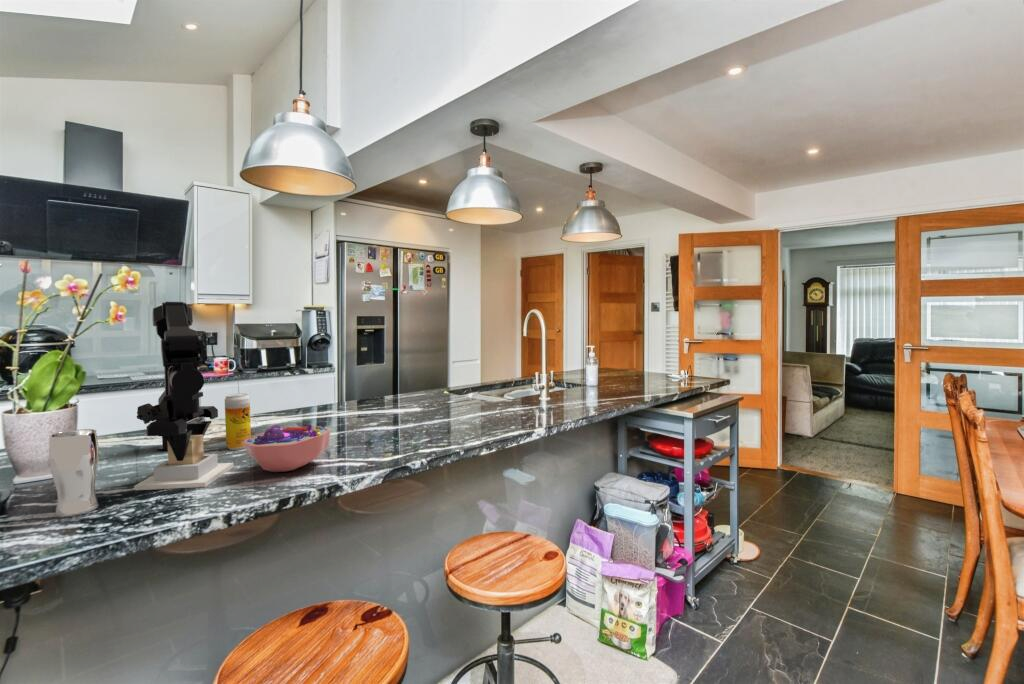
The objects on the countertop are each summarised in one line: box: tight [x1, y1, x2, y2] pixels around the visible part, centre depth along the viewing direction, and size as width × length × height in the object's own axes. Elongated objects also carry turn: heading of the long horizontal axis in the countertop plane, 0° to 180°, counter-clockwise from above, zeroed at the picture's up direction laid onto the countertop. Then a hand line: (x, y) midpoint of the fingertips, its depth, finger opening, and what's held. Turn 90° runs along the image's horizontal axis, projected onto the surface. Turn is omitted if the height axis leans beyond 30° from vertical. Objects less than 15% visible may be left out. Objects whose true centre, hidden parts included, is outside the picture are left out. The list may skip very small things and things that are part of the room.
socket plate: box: [133, 453, 235, 491], centre depth 109 cm, size 14×14×4 cm
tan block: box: [167, 435, 205, 465], centre depth 109 cm, size 5×5×7 cm
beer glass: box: [48, 428, 100, 518], centre depth 90 cm, size 7×7×15 cm
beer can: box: [224, 392, 252, 451], centre depth 134 cm, size 6×6×15 cm
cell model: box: [242, 424, 331, 473], centre depth 116 cm, size 17×20×11 cm
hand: (186, 457), depth 109 cm, fingers closed on tan block, 5 cm apart
